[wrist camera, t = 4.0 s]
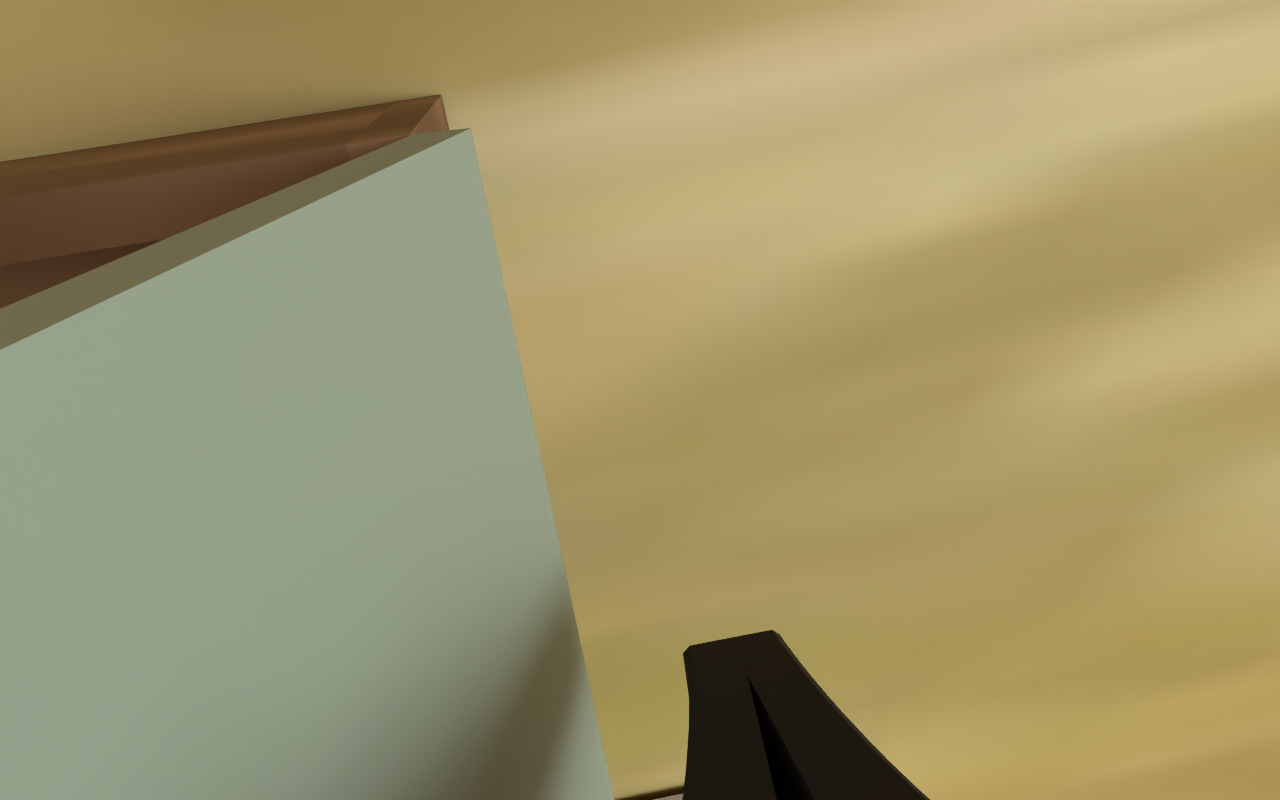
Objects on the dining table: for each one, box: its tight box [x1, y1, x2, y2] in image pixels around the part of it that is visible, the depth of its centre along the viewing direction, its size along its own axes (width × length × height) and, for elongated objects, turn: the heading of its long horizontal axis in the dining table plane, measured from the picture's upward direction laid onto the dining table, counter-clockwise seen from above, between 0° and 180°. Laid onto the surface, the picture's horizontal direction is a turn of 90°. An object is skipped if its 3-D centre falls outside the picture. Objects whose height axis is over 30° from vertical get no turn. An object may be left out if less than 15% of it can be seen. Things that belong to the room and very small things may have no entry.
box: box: [0, 95, 449, 309], centre depth 16 cm, size 16×14×5 cm
